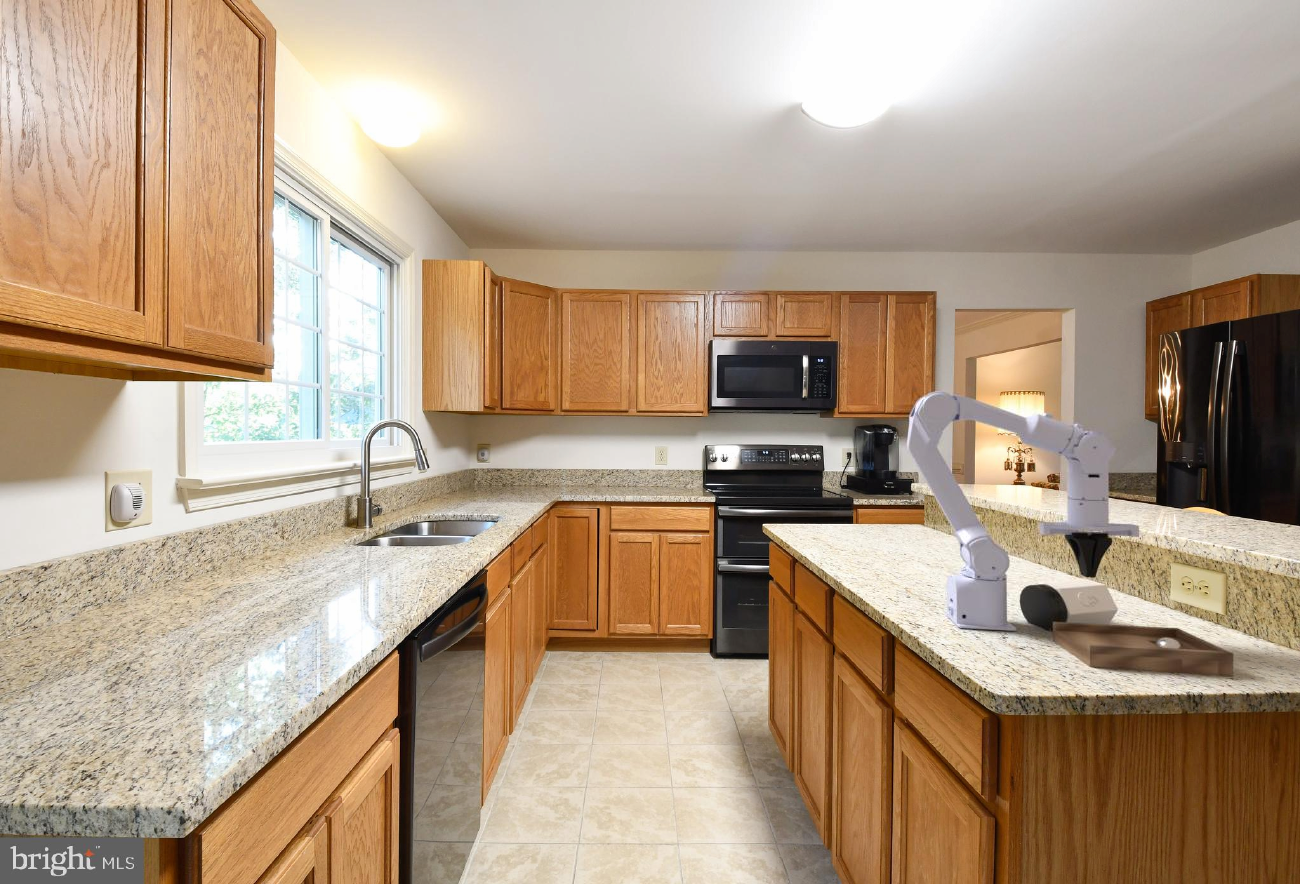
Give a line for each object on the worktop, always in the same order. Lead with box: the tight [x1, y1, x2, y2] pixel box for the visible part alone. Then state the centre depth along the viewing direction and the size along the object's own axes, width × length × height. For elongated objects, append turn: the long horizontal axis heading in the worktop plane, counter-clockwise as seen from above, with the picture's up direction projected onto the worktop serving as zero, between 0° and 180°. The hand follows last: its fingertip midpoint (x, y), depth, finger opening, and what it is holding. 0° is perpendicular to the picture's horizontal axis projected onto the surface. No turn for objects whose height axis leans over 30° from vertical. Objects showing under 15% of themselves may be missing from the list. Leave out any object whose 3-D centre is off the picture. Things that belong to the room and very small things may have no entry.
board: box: [1052, 622, 1234, 677], centre depth 87 cm, size 18×11×3 cm, turn 78°
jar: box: [1019, 577, 1119, 631], centre depth 102 cm, size 9×8×12 cm
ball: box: [1155, 638, 1183, 649], centre depth 86 cm, size 3×3×3 cm
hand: (1088, 576), depth 98 cm, fingers closed
